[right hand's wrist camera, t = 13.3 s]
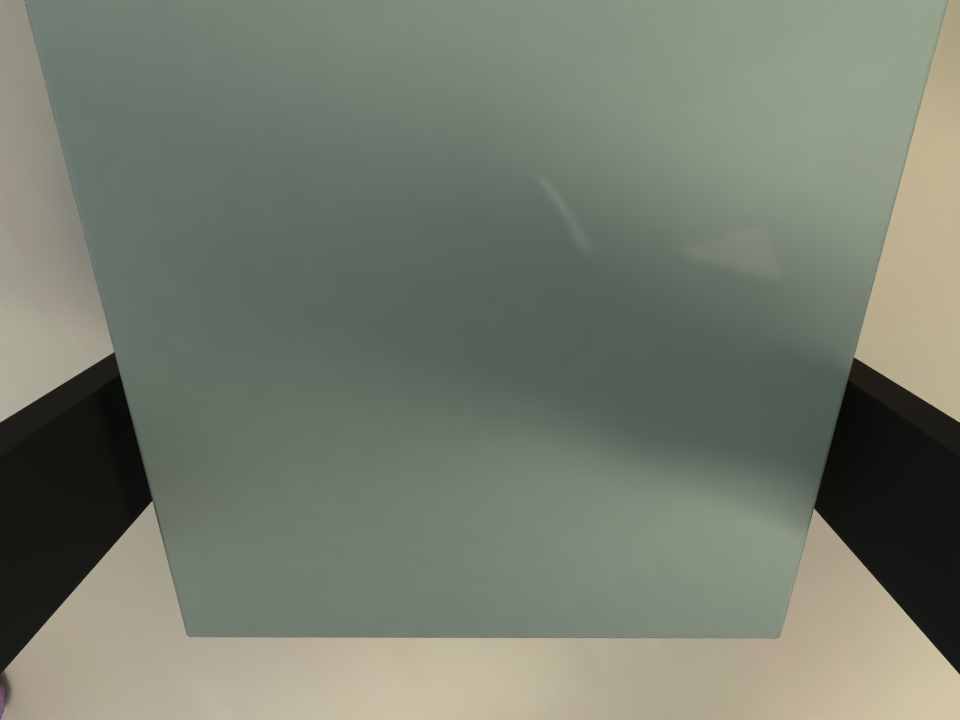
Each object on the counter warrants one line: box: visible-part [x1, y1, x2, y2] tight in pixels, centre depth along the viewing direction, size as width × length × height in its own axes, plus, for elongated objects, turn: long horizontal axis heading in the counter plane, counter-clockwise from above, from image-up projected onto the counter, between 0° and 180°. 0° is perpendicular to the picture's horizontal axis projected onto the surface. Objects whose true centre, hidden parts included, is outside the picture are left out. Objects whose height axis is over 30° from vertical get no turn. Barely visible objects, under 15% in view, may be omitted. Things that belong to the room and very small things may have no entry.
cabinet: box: [24, 0, 948, 638], centre depth 11 cm, size 20×11×9 cm, turn 0°
